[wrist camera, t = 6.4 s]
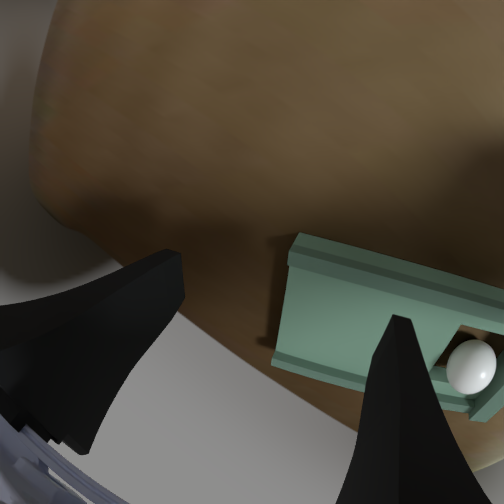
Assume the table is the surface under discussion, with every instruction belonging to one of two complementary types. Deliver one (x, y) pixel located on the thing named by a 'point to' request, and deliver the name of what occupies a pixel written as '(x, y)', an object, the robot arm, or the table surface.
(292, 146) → the table surface
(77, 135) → the table surface
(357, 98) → the table surface
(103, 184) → the table surface
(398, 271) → the green tray
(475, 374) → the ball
